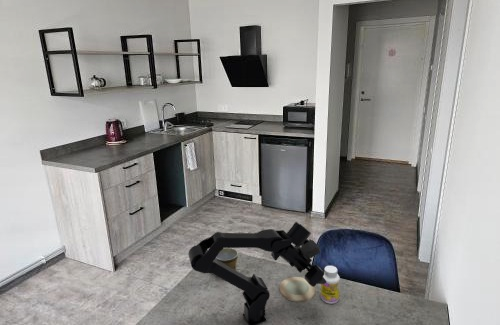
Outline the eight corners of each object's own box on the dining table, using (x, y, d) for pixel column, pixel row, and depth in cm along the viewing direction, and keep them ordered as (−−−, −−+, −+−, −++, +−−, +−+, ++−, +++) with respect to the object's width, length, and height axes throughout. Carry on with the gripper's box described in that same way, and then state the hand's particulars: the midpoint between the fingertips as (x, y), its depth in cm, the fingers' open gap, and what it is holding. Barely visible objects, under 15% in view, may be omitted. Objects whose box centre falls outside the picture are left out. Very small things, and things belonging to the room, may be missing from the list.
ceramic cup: (240, 268, 147) (239, 248, 144) (237, 281, 137) (236, 260, 135) (211, 267, 148) (210, 247, 146) (206, 280, 139) (205, 259, 136)
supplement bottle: (318, 301, 124) (319, 271, 121) (323, 291, 130) (324, 262, 126) (336, 306, 121) (337, 276, 118) (340, 295, 127) (341, 266, 123)
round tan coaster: (292, 306, 122) (292, 303, 121) (273, 285, 134) (273, 282, 134) (322, 294, 128) (322, 291, 127) (302, 275, 140) (302, 273, 139)
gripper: (319, 249, 106) (347, 272, 112) (294, 225, 124) (320, 246, 130) (297, 276, 106) (326, 297, 112) (275, 248, 123) (302, 268, 130)
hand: (319, 275), depth 121 cm, fingers open, 9 cm apart
